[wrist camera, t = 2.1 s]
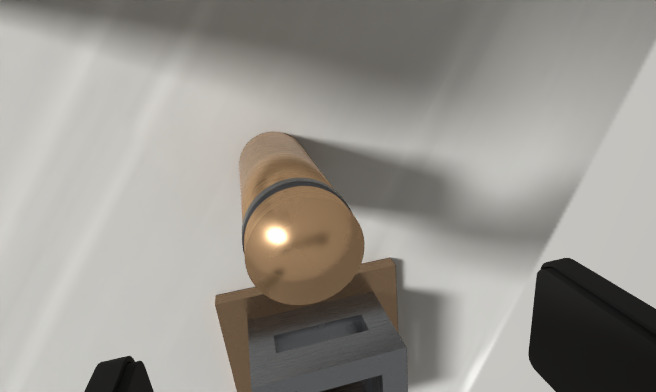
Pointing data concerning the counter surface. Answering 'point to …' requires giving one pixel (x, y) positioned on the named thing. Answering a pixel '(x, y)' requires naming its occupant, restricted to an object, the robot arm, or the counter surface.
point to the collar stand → (318, 338)
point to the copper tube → (294, 224)
